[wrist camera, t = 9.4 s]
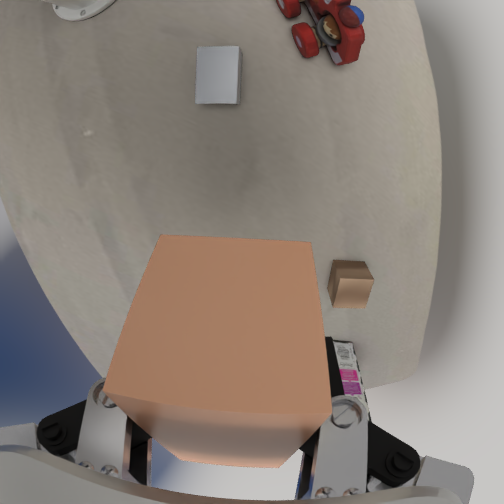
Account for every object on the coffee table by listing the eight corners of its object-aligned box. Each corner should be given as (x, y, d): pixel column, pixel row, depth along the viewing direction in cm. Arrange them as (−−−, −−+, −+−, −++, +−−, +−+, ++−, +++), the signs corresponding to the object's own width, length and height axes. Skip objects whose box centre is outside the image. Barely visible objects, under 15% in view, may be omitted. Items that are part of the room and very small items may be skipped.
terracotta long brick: (160, 234, 8) (102, 391, 4) (310, 242, 8) (332, 412, 4) (194, 370, 13) (180, 460, 10) (279, 376, 13) (278, 467, 9)
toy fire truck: (308, 75, 27) (328, 62, 18) (266, -14, 22) (267, -56, 13) (364, 61, 26) (404, 48, 17) (323, -26, 21) (343, -66, 11)
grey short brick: (206, 54, 27) (197, 46, 23) (242, 53, 27) (238, 46, 23) (204, 103, 29) (195, 103, 25) (240, 104, 29) (236, 103, 25)
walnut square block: (333, 259, 38) (340, 278, 34) (364, 261, 38) (374, 279, 34) (327, 287, 40) (332, 307, 36) (356, 288, 40) (365, 308, 36)
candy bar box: (325, 338, 45) (341, 426, 30) (352, 341, 45) (375, 425, 31) (304, 379, 50) (311, 458, 36) (329, 381, 50) (341, 457, 36)
